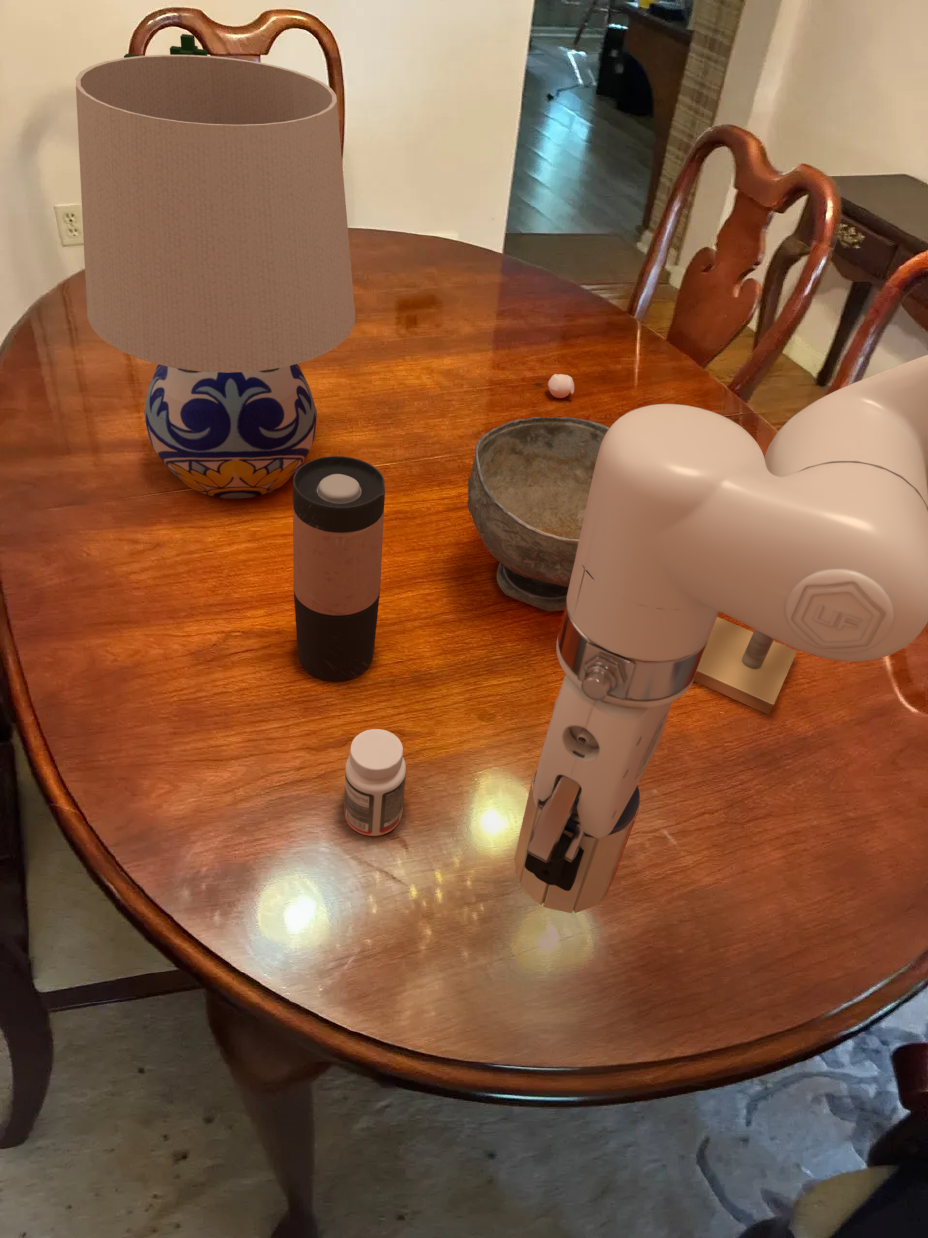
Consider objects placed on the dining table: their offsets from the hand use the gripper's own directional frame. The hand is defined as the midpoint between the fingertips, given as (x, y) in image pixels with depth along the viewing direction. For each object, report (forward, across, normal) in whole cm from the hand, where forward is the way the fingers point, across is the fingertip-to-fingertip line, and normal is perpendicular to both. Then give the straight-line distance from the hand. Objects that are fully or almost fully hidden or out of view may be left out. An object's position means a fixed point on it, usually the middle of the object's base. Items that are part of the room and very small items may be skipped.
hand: (574, 832), depth 60 cm
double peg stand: (+13, +37, -1) cm, 39 cm away
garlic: (+13, +75, +35) cm, 84 cm away
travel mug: (+13, +15, +30) cm, 36 cm away
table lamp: (+12, +34, +58) cm, 68 cm away
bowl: (+13, +37, +18) cm, 43 cm away
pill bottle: (+13, +2, +17) cm, 21 cm away
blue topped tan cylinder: (+4, 0, 0) cm, 4 cm away
